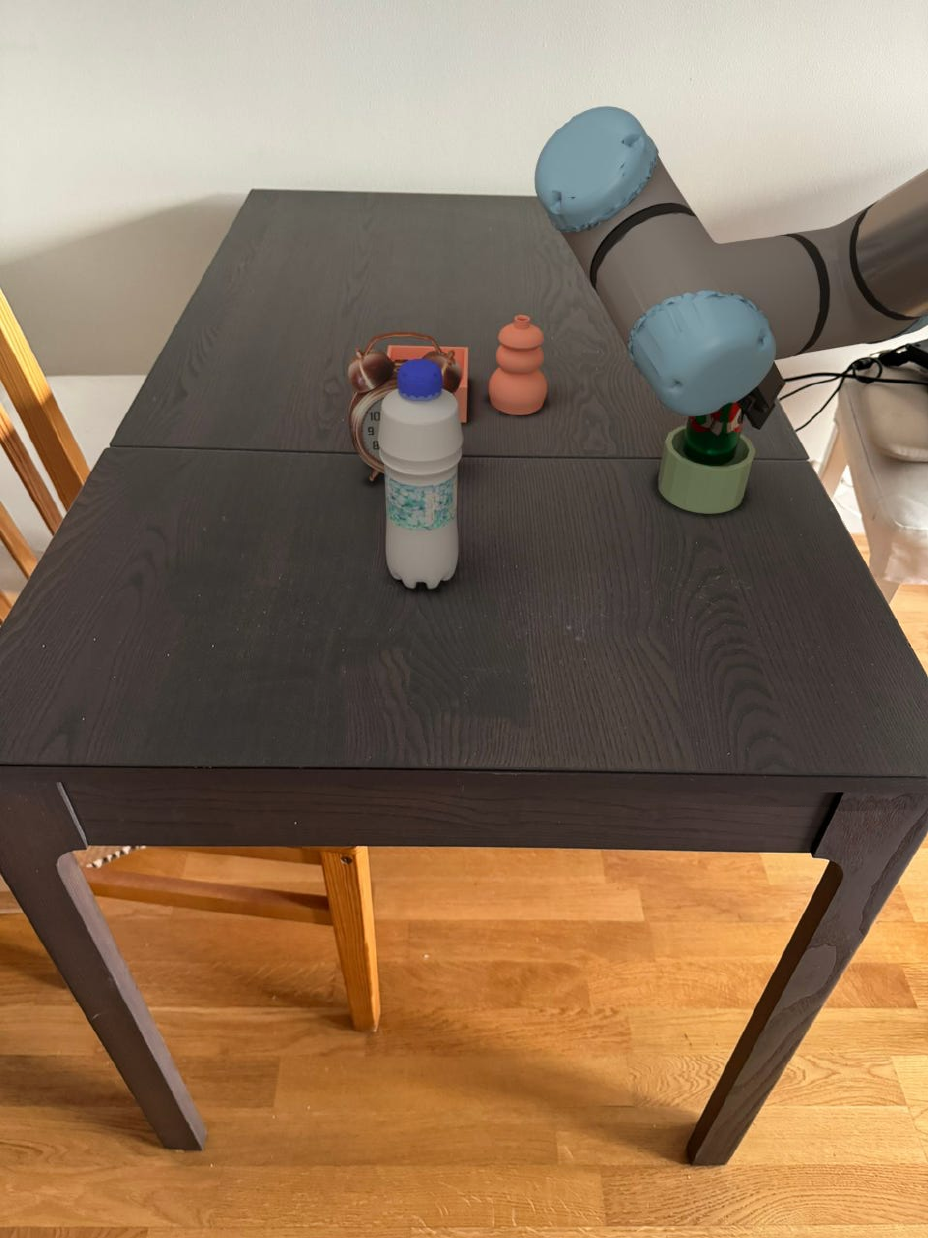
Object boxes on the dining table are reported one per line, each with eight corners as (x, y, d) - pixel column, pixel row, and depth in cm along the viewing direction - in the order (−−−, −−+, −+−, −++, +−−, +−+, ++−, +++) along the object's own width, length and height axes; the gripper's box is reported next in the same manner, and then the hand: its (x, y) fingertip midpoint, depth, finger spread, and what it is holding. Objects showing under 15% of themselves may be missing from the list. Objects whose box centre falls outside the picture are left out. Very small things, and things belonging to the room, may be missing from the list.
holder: (749, 477, 94) (761, 433, 91) (735, 522, 88) (747, 477, 85) (668, 459, 96) (676, 416, 93) (649, 501, 91) (656, 457, 87)
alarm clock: (352, 487, 91) (341, 344, 81) (353, 460, 95) (342, 320, 85) (462, 484, 92) (464, 342, 82) (458, 458, 96) (461, 319, 86)
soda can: (728, 442, 92) (756, 326, 84) (738, 470, 88) (768, 351, 80) (677, 441, 92) (700, 324, 84) (685, 469, 88) (710, 350, 80)
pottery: (383, 420, 101) (379, 335, 95) (389, 379, 108) (386, 296, 102) (548, 424, 101) (555, 339, 95) (543, 382, 108) (550, 300, 102)
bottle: (472, 587, 80) (478, 375, 67) (398, 605, 78) (390, 390, 65) (444, 543, 85) (445, 336, 72) (374, 558, 83) (362, 349, 70)
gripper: (545, 288, 74) (642, 404, 94) (736, 366, 65) (799, 477, 85) (595, 204, 74) (683, 339, 93) (796, 271, 64) (846, 405, 84)
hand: (738, 404), depth 89 cm, fingers closed on soda can, 5 cm apart
